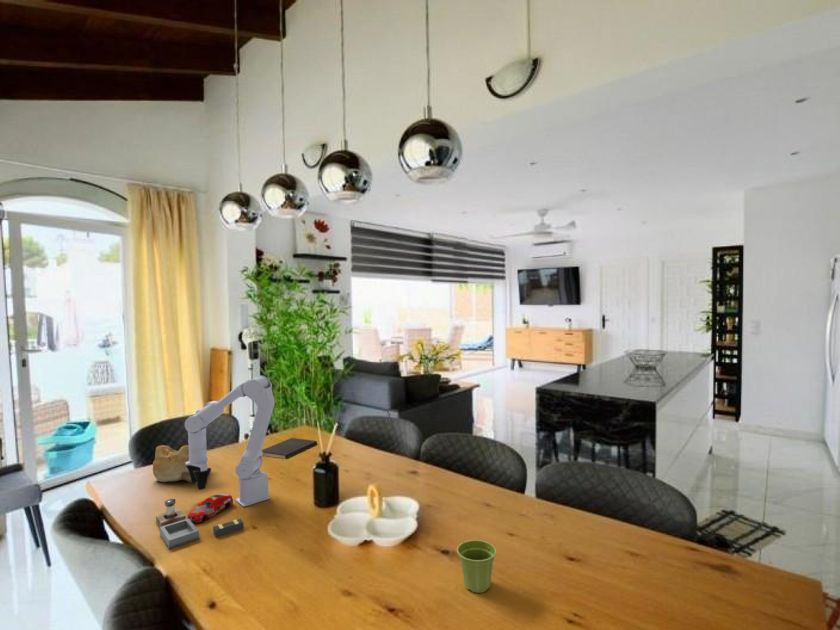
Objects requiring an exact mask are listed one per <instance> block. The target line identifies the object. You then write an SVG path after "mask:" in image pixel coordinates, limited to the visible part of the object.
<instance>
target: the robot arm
mask: <svg viewBox="0 0 840 630" xmlns="http://www.w3.org/2000/svg"><path fill="white" fill-rule="evenodd" d="M272 388H273V384H272V382H271V381H270V380H269V379H268V378H267V377H266V376H265V375H257V376H255V377H253V378H252V379H248V380H246V381H245V382H243V383H241V384H239V385H237V386H236V387H234V388H233V389H231V391H230V392H228V393H227V394H226V395H225V396H223V397H222V398H220V400H212V401H207V403H205V406H204V407H202V408H201V409H200V410H199V409H197V410H196V411H195V414H194V415H190V416H188V417H187V418H186V420H185V421H184V428H185V430H186V431H187V435H188V436H187V437H188V438H187V439H188V440H187V441H188V445H189V461H188V462H185V465H186V467H187V469H188V471H189V473H190V477H191V481H192V483H191V484H192V485H194V484H197V489H198V490H199V491H201V490H204V489H206V486H207V483H208V482H207V481H208V478H209V476H210V474H211V471H212V468H211V467H208V455H207V454H208V451H207V450H208V449H207V427H208V426H209V424H210V423H212V422H213V421H214V420H216V419H217V418H219V417H221V415H223V414H224V413H225V412H224V411H225V408H226V407H228V406H229V405H230V404H232V403H233V402H235V401H237V400H238V399H239V398H240V397H241V398H245V397H247V398H249V399H250V401H252V402H254V403H255V405H256V406H257V410H256V414H255V416H254V420H253V423H252V427H251V431H250V435H249V437H248V438H249V439H248V442H247V445H246V448H245V450H244V452H243V453H242V456H241V458H240V461H239V462H238V463H237V464H236V466H235V474H236V476H237V477H238V488H239V490H238V492H239V495H238V497H237V498H235V499H234V500H235V501H236V502H237V503H239V504H240V506H242V507H248V506H250V505H254V504H257V503H260V502H264V501H267V500H270V499H271V498H270V494H269V493H270V492H269V477H268V475H267V472H266V471H261V467H262V466H263V462H264V461H263V455H262V454H263V452H262V450H263V447H264V446H263V445H264V442H265V438H266V435H267V431H268V428H269V424H270V421H271V417H272V414H273V410H274V407H275V404H276V403H275V398H274V394H273V389H272Z"/></svg>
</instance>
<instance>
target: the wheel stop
mask: <svg viewBox="0 0 840 630" xmlns="http://www.w3.org/2000/svg"><path fill="white" fill-rule="evenodd" d="M242 530H244V521H243V520H242V518H238V519H233V520H231V521H228V522H225V523H220V524H217V525H214V526H212V531H213V532H212V533H213V536H214V537H215V538H219V537H223V536H226V535H229V534H233V533H235V532H238V531H242Z"/></svg>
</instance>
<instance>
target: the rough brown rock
mask: <svg viewBox="0 0 840 630" xmlns="http://www.w3.org/2000/svg"><path fill="white" fill-rule="evenodd" d="M154 454H155V455H154V460H153V462H152V474H153V476H154V478H155V479H156V480H157V481H159V482H160V483H167V482H179V481H181V480H182V481H187V482H188V483H190V482H192V481H191V477H190V473H189V471H188V469H187V467H186V465H185V462H188V461H189V445H182V446H181V447H180V448H179V449H178V450H176V449H173V448H172V447H171V446H170V445H163V444H162V445H158V446H156V447H155V453H154Z"/></svg>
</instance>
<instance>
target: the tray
mask: <svg viewBox="0 0 840 630" xmlns="http://www.w3.org/2000/svg"><path fill="white" fill-rule="evenodd" d="M199 532H200V530H199V529H198V528H197V527H196V525H195V524H194V523H192V522H191V521H190V520H189V518H188V517H187V518H186V519H185V520H181V521H178V522H175V523H172V524H168V525H165V526H162V527H159V535H160V537H161V539H162V540H163V542H164V544H165V545H166V547H167V548H168V549H169V550H171V549H175V548H176V547H181V546H183V545H186V544H189V543H191V542H194V541H197V540H200V533H199Z"/></svg>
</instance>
